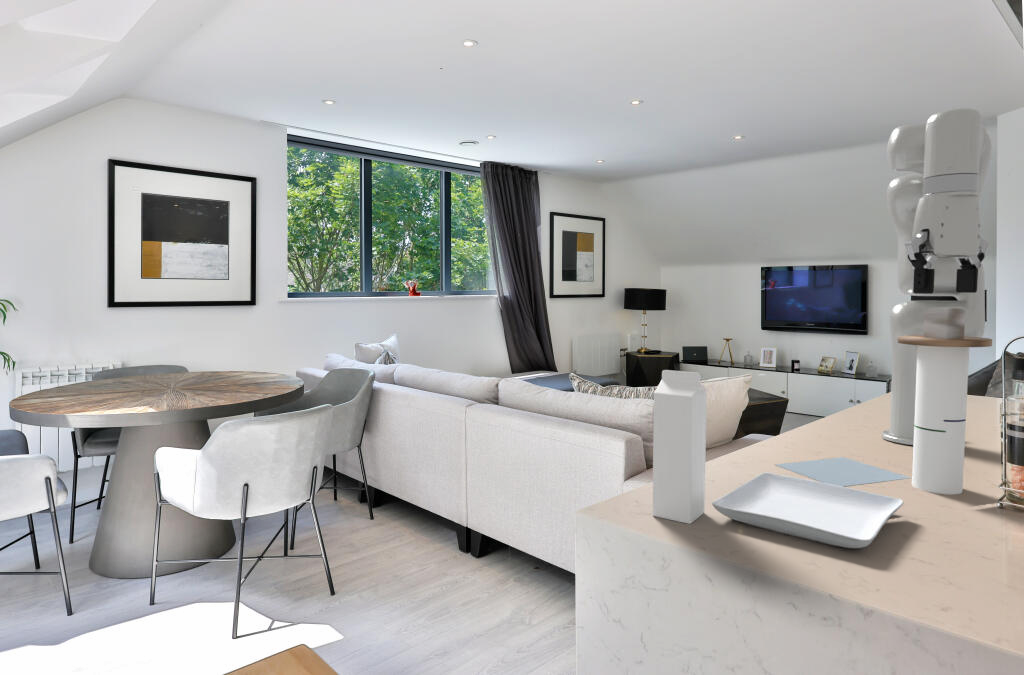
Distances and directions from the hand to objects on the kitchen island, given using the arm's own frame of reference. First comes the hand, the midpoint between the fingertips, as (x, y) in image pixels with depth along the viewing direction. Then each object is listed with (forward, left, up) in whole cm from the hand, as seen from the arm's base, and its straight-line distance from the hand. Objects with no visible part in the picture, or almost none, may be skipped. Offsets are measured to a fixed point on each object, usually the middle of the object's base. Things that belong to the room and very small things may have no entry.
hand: (945, 292), depth 105 cm
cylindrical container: (0, 0, -34) cm, 34 cm away
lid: (0, 0, -9) cm, 9 cm away
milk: (+48, -4, -34) cm, 59 cm away
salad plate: (+31, +4, -34) cm, 47 cm away
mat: (+8, -13, -34) cm, 37 cm away
